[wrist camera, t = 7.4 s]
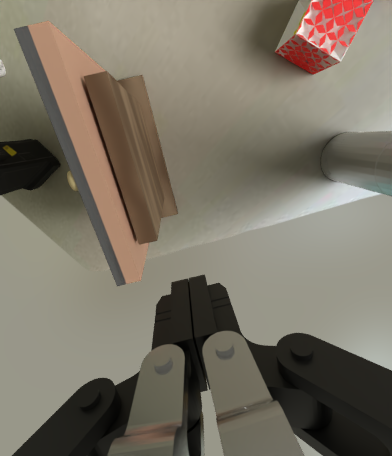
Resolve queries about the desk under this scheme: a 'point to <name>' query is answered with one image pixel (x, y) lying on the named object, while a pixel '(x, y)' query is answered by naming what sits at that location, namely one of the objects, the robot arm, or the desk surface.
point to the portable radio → (25, 165)
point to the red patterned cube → (321, 32)
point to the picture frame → (83, 143)
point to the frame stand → (133, 150)
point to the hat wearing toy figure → (2, 69)
